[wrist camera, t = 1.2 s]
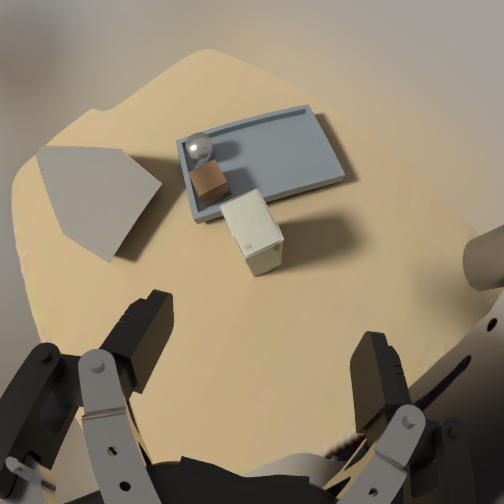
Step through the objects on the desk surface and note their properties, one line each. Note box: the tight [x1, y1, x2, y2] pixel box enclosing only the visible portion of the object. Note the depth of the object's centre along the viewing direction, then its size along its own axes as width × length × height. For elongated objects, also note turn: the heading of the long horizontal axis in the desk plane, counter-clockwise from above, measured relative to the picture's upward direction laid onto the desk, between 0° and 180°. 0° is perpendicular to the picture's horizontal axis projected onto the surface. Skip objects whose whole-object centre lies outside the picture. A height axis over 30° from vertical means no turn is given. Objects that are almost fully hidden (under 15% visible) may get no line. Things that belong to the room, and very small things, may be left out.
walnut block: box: [188, 159, 231, 207], centre depth 37 cm, size 4×4×4 cm
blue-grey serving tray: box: [176, 105, 345, 224], centre depth 39 cm, size 22×14×3 cm, turn 107°
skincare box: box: [220, 189, 284, 277], centre depth 32 cm, size 6×4×12 cm
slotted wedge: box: [36, 146, 162, 263], centre depth 35 cm, size 14×11×18 cm
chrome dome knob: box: [186, 132, 216, 167], centre depth 38 cm, size 4×4×4 cm
